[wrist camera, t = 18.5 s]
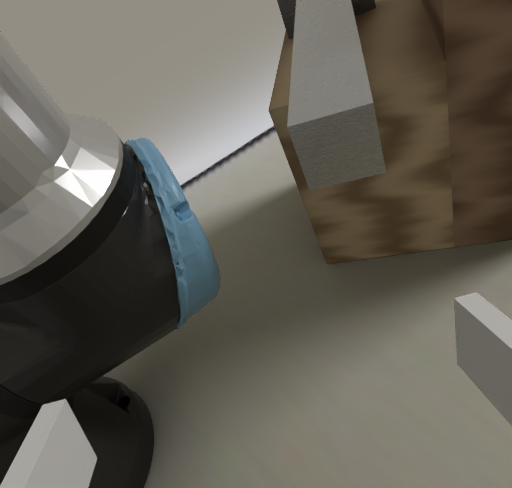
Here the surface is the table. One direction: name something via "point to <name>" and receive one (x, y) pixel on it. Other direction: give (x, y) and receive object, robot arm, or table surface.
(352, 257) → the walnut step stand
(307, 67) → the steel bar
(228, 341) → the table surface
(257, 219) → the table surface
